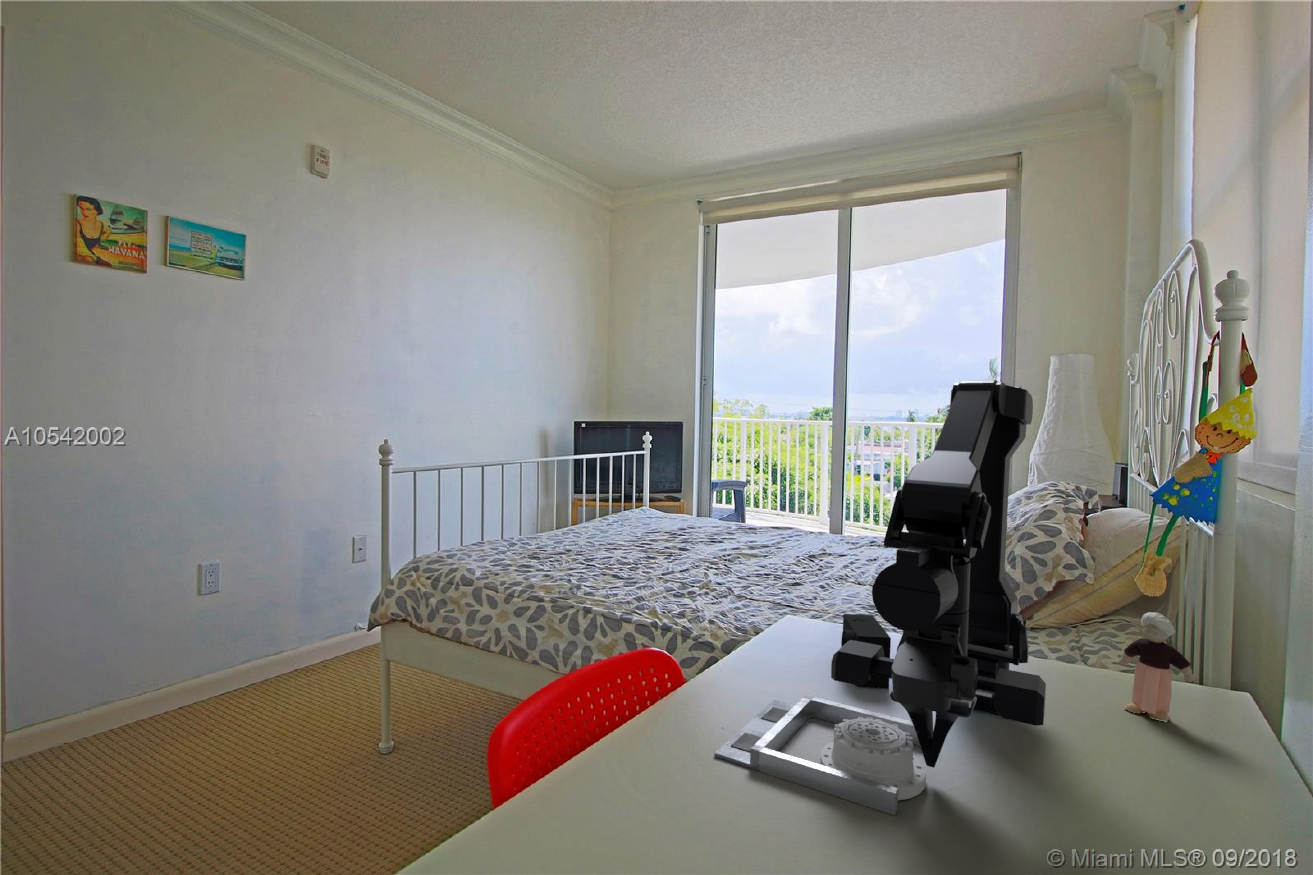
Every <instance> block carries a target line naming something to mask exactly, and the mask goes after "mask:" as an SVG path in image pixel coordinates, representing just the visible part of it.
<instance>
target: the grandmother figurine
mask: <svg viewBox="0 0 1313 875" xmlns="http://www.w3.org/2000/svg"><path fill="white" fill-rule="evenodd" d="M1140 621H1141V626H1142V633H1143V635H1144V637H1145V638H1143V637H1142V638H1138V639H1136V640H1134V641H1133V642H1131V643H1130V644H1128V645H1127V647H1125V648H1124V650H1123V653H1122V654H1121V657H1120V658H1118V662H1119V664H1120V665H1121V666H1128V665H1129V664H1130V661H1131V660H1132V659H1133V657H1138V658H1139V659H1138V661H1137V663H1136V665H1135V672H1134V677H1133V678H1134V679H1133V687H1132V694H1131V703H1128V704H1126V705H1125V706H1124V709H1125V708H1126V710H1129V711H1131V712H1135V713H1143V712H1147V714H1148V717H1149V716H1150V717H1151V718H1154V719H1159V720H1164V721H1165V720H1166V721H1168V720H1169V721H1170V715H1169V713H1170V705H1171V700H1172V692H1173V691H1172V682H1173V681H1172V680H1173V679H1172V670H1171V666H1174V667H1175V668H1177V669H1178V670H1180V672H1181V673H1182V674H1183V677H1184V680H1185V681H1186V682H1189V683H1192V682H1193V683H1194V682H1195V680H1196V677H1195V675H1194V673H1193V669H1192V668H1191V665H1192V664H1191V662H1190V661H1189V660H1188V659H1187V658H1186V657H1185V656H1184V655H1183V654H1182V653H1181V652H1180V651H1179V650H1177V649H1176V648H1175V647H1172V646H1171V645H1170V644H1168V643H1166V641H1167V640H1169V637H1171V636H1173V635H1174V634H1175V633H1177V631H1176V630H1175V628H1174V625H1173V624H1172V623H1171V620H1169V619H1168V618H1167V617H1166V616H1164V614H1162V613H1160V612H1151V611H1149V612H1146V613H1144V614H1143V615H1142V616H1141V620H1140ZM1126 710H1125V711H1126ZM1129 711H1128V712H1129ZM1131 712H1130V713H1131ZM1135 713H1134V714H1135ZM1151 718H1150V719H1151Z"/></svg>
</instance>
